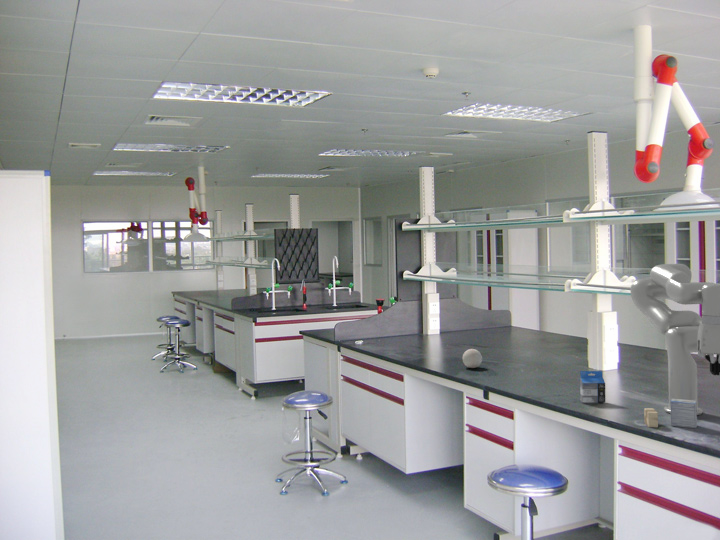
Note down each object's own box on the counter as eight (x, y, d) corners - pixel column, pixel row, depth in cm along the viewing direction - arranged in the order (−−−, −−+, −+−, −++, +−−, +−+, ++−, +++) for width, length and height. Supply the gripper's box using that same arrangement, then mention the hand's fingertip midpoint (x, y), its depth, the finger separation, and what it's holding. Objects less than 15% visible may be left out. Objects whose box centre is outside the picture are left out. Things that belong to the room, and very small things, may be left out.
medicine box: (697, 425, 220) (696, 400, 220) (696, 428, 216) (696, 403, 216) (671, 422, 224) (671, 398, 224) (670, 426, 220) (670, 401, 220)
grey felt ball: (461, 366, 340) (461, 347, 340) (480, 366, 340) (480, 347, 339) (463, 370, 330) (463, 350, 330) (483, 369, 330) (483, 350, 329)
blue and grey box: (582, 403, 254) (582, 372, 254) (580, 401, 258) (579, 371, 258) (605, 403, 253) (605, 372, 253) (603, 401, 257) (602, 370, 257)
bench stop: (644, 422, 226) (644, 408, 225) (653, 422, 225) (653, 408, 225) (648, 427, 220) (648, 412, 220) (657, 427, 219) (657, 412, 219)
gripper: (734, 319, 219) (735, 372, 220) (687, 319, 222) (688, 372, 223) (743, 321, 212) (743, 376, 212) (694, 321, 215) (695, 376, 215)
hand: (715, 374), depth 218 cm, fingers closed
